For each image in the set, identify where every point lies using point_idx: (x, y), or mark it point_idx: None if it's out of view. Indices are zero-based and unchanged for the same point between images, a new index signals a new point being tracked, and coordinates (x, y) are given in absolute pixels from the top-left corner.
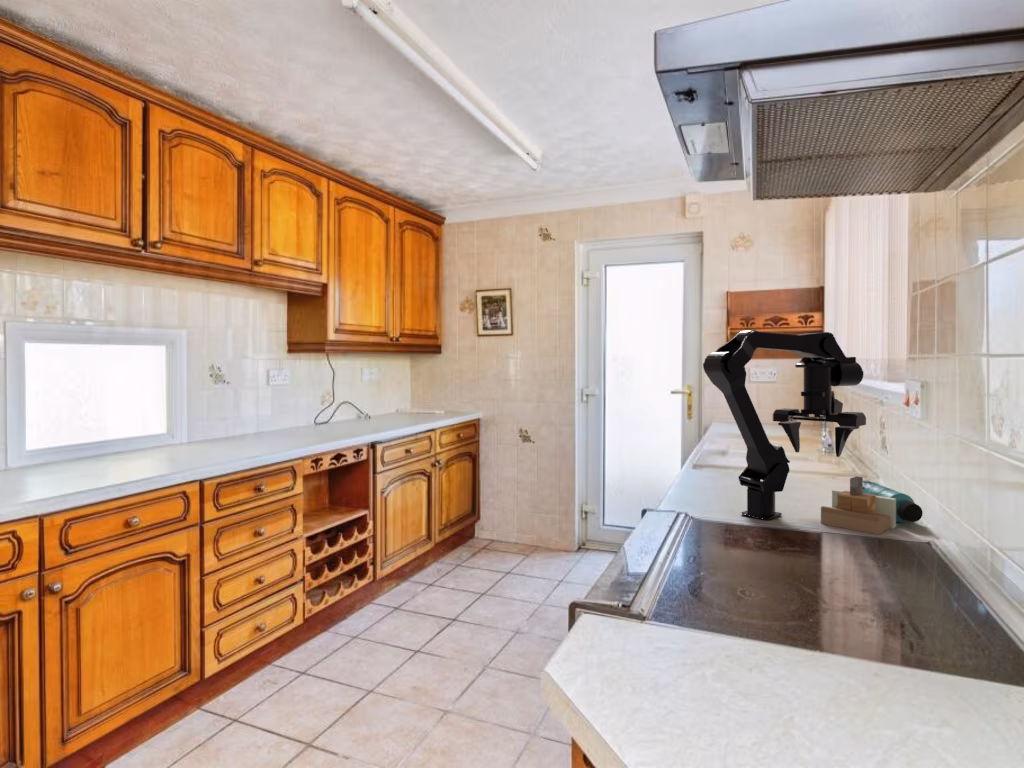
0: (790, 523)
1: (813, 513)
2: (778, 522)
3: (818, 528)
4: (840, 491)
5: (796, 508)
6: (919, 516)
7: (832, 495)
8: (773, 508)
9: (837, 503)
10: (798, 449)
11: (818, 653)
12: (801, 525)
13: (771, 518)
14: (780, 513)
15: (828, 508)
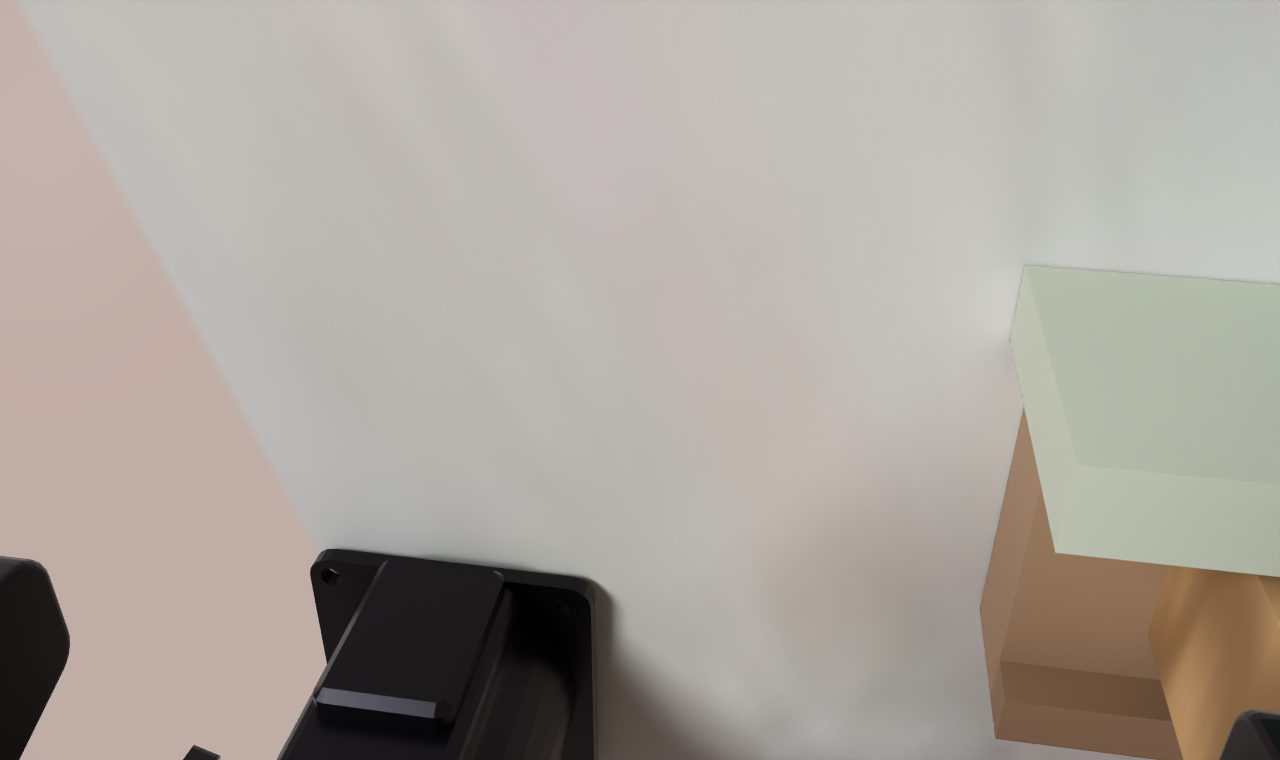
0: (765, 735)
1: (779, 300)
2: (678, 755)
3: (1011, 751)
4: (1185, 556)
5: (530, 202)
6: None
7: (1050, 503)
8: (561, 747)
9: (1174, 712)
10: (9, 653)
11: None
12: (862, 742)
13: (595, 732)
14: (583, 611)
15: (1081, 747)
